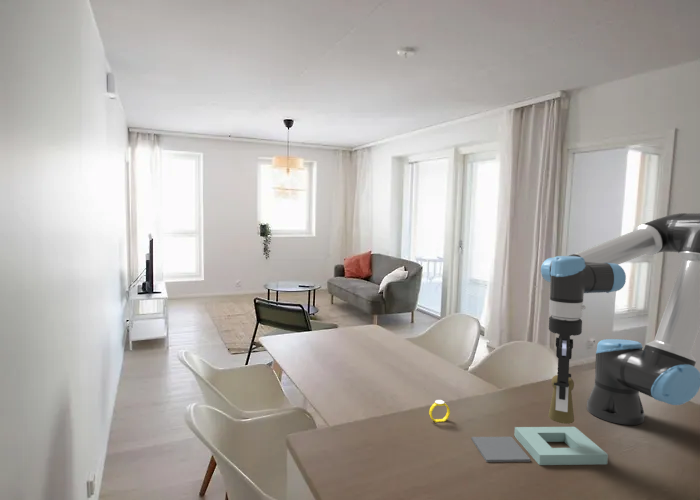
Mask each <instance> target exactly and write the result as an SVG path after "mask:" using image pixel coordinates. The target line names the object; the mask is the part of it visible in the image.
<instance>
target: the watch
mask: <svg viewBox="0 0 700 500" xmlns="http://www.w3.org/2000/svg"><path fill="white" fill-rule="evenodd" d="M437 406H439V407H443V406H445V407H446V414H445V415H444V417H443V418H436V419H435V418H434V416H433V411H434V409H435V408H436V407H437ZM429 407H430V408H429V411H428V414H429V416H430V419H431V421H433V422H434V423H445V422H446V421H447V420H448V419H449V418H450V414H451V409H450V407H449V406H448V404H447V403H446V402H445V401H444V400H442V399H436V400H435V401H434V403H432V405H431V406H429Z"/></svg>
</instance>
